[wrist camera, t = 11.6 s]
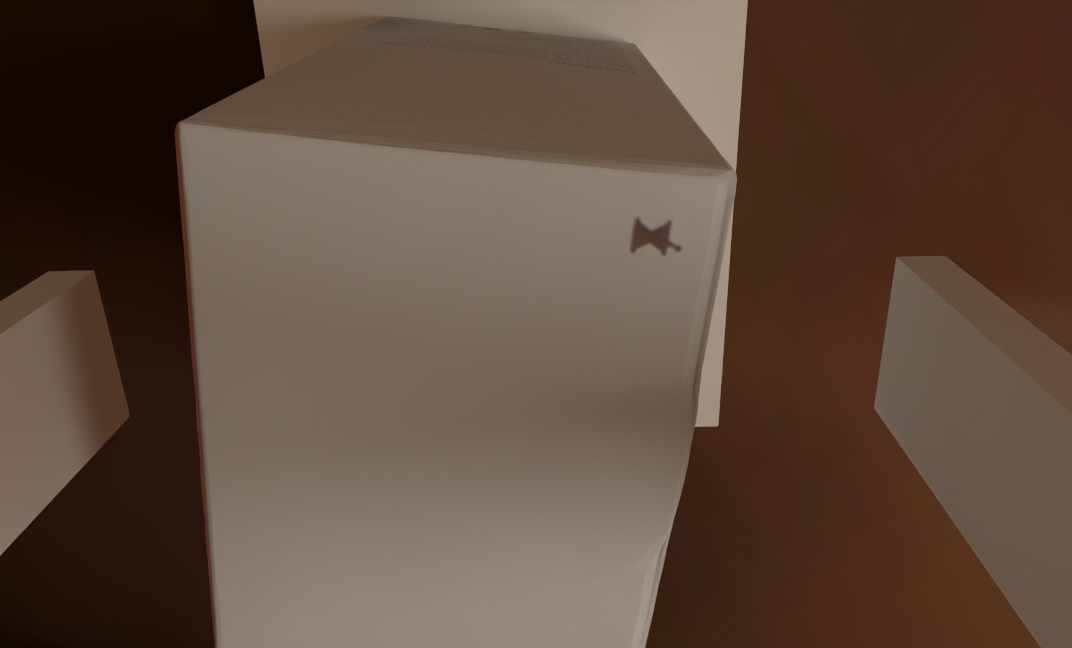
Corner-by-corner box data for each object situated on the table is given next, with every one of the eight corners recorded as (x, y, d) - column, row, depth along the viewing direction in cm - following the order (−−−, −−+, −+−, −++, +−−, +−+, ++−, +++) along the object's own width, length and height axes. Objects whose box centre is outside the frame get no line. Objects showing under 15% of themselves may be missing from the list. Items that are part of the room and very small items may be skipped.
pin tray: (743, -140, 21) (806, -167, 16) (709, 401, 27) (746, 507, 22) (254, -124, 21) (161, -146, 16) (330, 407, 27) (280, 513, 22)
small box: (383, 12, 21) (160, 102, 9) (641, 39, 21) (758, 163, 9) (376, 314, 24) (205, 675, 12) (598, 336, 24) (644, 712, 12)
